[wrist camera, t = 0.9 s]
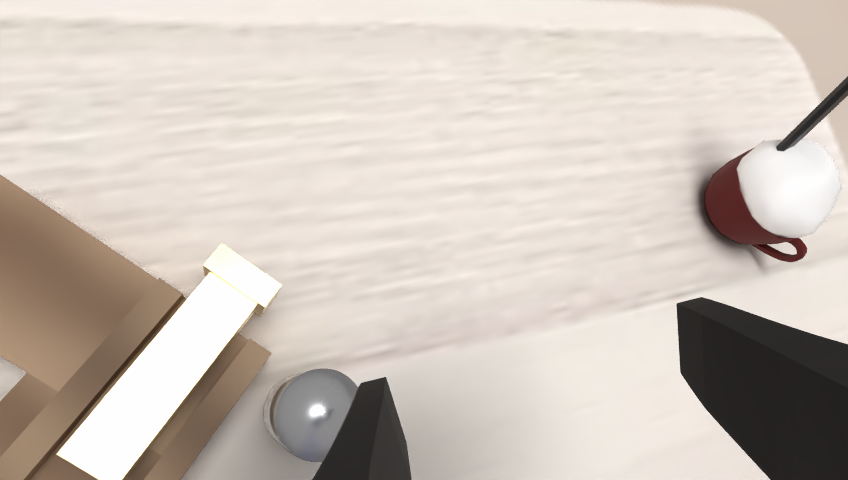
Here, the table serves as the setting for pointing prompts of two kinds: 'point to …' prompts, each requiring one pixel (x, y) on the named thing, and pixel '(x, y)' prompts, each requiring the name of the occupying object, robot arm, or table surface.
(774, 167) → the cocoa
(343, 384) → the cylinder
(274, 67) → the table surface
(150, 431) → the lock pin
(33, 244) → the dock
